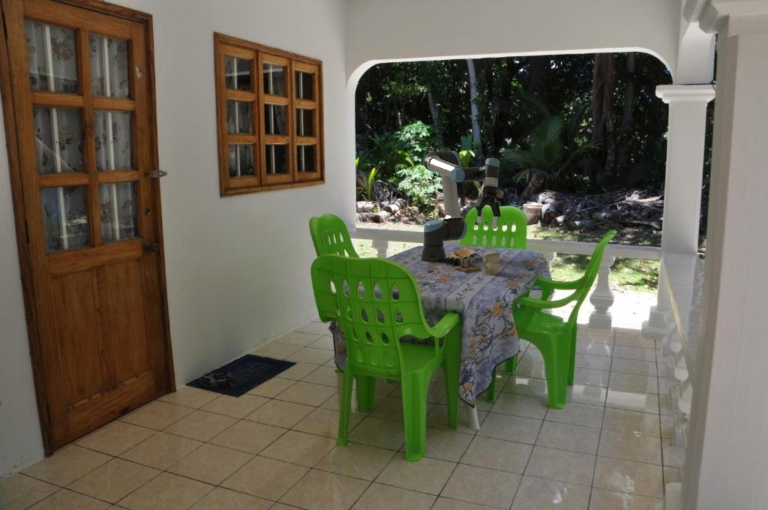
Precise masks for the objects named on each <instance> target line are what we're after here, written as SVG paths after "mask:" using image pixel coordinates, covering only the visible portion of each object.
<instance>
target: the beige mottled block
mask: <svg viewBox="0 0 768 510" xmlns="http://www.w3.org/2000/svg"><path fill="white" fill-rule="evenodd" d="M500 264H501V253H500V252H497V251H488V252H484V253H482V274H485V275H488V276H489V275H494V274H499V273H500V269H501V267H500V266H501V265H500Z"/></svg>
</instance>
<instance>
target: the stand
mask: <svg viewBox="0 0 768 510" xmlns="http://www.w3.org/2000/svg"><path fill="white" fill-rule="evenodd" d="M475 261H476V259H475V257H471V256H467V258H463V257H461V258H460V265H459V266H455V267H454V271H458V272H461V273H462V272H463V273H466V274H467V273H472V272H476V271H481V266H477V265H476V263H475Z"/></svg>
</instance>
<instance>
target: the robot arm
mask: <svg viewBox="0 0 768 510" xmlns="http://www.w3.org/2000/svg"><path fill="white" fill-rule="evenodd" d="M500 163H501V162H500V160H499V159H498V158H494V157H490V158H489V157H488V158H487V159H486V160H485V163H484V165H483V166H477V167H473V166H471V167H462V166H461V165H462V159H461V156H460V155H459V153H458V152H457V151H455V150H440V151H439V150H438V151H436V150H435V151H430V152H428V153H427V154H425V156H424V158H423V167H424V168H425V169H426V170H427V171H429V172H431V173H438V175H439V176H440V177H441V186H442V196H443V207H444V218H443V219H432V220H428V221H426V222H425V223H424V226H423V249H422V253H421V255H420V259H421V261H423V262H431V263H432V262H433V263H435V262H443V261H446V260H447V254H446V252H445V248H444V242H449V241H460V240H463V239H464V238H465V237H466V236H467V234H468V233H467V232H468V225H467V222H466V220H463V217H462V215H460V207H459V205H460V204H459V198H458V197H459V195H458V186H457V183H462V182H463V183H464V182H465V183H466V182H476V183H480V182H483V188H482V192H480V193H479V197H478V199H477V202H476V204H475V206H474V208H475V210H476V211H477V214H476V215H477V217H476V223H477V224H481V223H483V217H484V216H483V214H484V210H483V209H484V208H485V206H486V205H488V206H490V208H491V212H492V215H493V216H492V220H491V221H492V224H491V229H493V230H497V229H498V223H499V222H498V220H499V218H500V217H501V216H502V214H501V209H500V204H499V198H496V196H497V194H498V186H499V185H498V184H499V178H500V177H499V174H500Z"/></svg>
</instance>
